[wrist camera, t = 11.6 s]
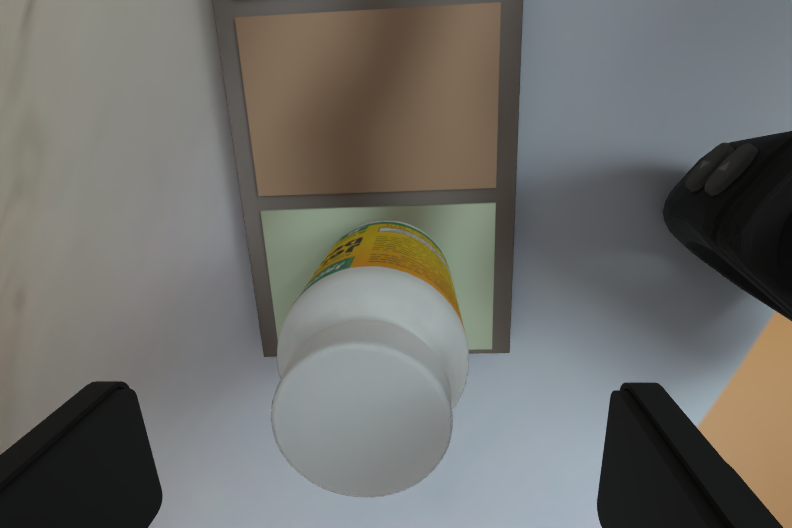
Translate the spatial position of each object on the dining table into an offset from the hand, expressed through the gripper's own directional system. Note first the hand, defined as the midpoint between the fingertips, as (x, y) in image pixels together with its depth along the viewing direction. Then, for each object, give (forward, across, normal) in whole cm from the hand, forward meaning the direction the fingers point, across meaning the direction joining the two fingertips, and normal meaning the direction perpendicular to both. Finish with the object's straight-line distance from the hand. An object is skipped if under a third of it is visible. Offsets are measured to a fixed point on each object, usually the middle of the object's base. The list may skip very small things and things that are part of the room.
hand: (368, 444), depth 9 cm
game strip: (+12, +1, -6) cm, 13 cm away
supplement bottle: (+11, 0, 0) cm, 11 cm away
